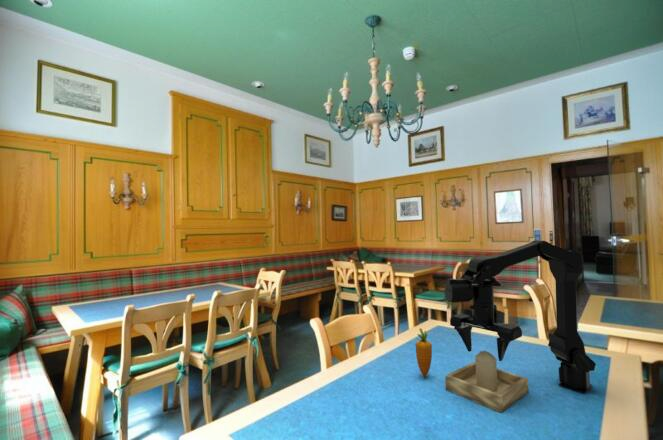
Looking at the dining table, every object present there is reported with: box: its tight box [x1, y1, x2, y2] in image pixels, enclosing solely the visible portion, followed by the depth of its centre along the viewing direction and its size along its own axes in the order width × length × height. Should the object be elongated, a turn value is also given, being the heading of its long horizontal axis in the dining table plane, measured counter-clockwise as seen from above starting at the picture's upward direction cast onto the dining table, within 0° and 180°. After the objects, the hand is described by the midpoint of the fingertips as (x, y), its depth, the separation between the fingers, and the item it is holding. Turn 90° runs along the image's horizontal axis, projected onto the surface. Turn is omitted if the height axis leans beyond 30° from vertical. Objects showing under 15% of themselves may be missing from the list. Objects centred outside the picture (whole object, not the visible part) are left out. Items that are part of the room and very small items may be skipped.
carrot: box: [415, 327, 433, 378], centre depth 105 cm, size 5×5×15 cm
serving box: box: [445, 361, 530, 414], centre depth 95 cm, size 16×16×4 cm
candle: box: [474, 350, 498, 392], centre depth 95 cm, size 6×6×10 cm
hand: (484, 355), depth 95 cm, fingers open, 9 cm apart
